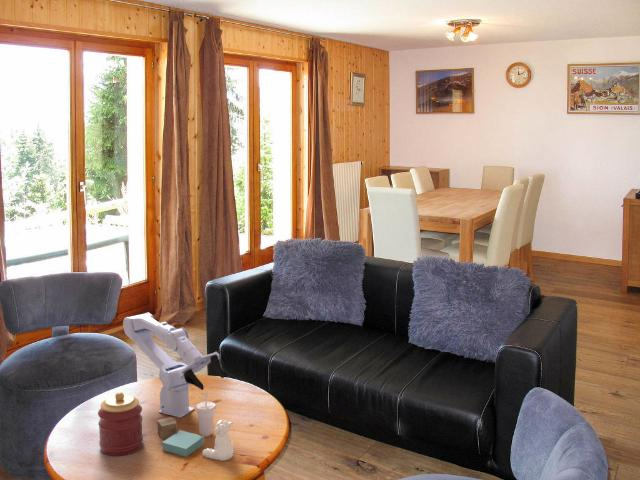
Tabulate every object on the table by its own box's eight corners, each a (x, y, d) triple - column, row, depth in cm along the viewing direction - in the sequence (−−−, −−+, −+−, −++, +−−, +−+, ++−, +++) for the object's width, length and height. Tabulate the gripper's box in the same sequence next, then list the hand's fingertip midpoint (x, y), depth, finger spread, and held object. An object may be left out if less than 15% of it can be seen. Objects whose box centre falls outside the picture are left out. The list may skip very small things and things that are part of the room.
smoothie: (199, 439, 211) (198, 398, 209) (193, 431, 217) (192, 390, 214) (218, 435, 214) (218, 394, 212) (212, 427, 220) (211, 387, 217)
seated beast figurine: (227, 445, 208) (226, 409, 206) (243, 456, 202) (243, 419, 199) (201, 455, 202) (200, 418, 199) (217, 466, 195) (216, 428, 193)
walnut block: (157, 434, 215) (157, 420, 214) (172, 431, 217) (171, 416, 216) (162, 440, 210) (161, 426, 210) (177, 437, 213) (176, 422, 212)
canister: (93, 444, 208) (90, 390, 204) (133, 432, 215) (131, 380, 212) (108, 461, 198) (105, 405, 194) (150, 448, 205) (148, 394, 202)
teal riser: (162, 449, 205) (162, 442, 204) (180, 437, 213) (180, 430, 212) (186, 456, 201) (186, 448, 200) (204, 443, 209) (203, 436, 208)
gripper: (170, 357, 215) (192, 385, 207) (208, 337, 222) (231, 363, 215) (172, 371, 220) (194, 399, 212) (209, 350, 227) (232, 376, 219)
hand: (213, 381), depth 214 cm, fingers open, 7 cm apart
